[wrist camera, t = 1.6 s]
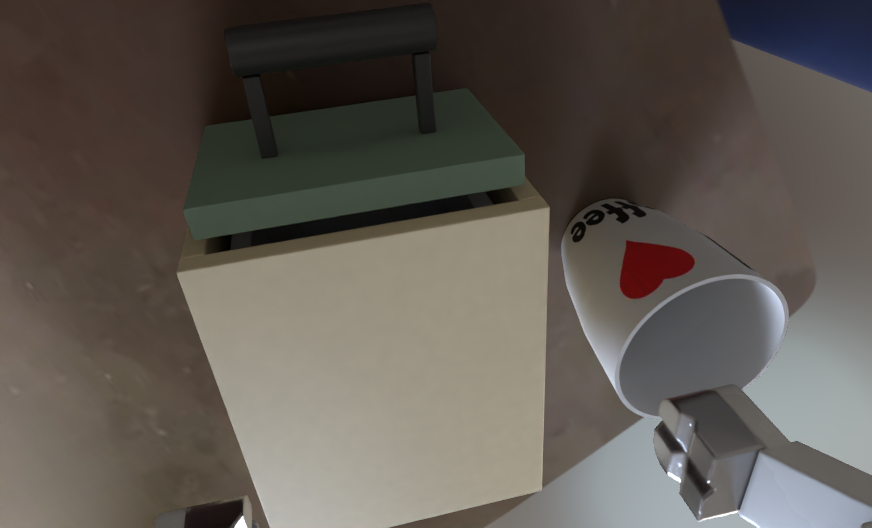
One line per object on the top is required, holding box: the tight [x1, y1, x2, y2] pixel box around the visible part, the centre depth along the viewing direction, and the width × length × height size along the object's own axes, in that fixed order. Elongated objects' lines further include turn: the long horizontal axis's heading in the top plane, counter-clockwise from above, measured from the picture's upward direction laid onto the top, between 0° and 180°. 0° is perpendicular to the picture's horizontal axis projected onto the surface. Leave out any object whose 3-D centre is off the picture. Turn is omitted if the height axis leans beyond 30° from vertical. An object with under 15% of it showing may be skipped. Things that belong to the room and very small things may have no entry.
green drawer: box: [183, 3, 525, 250], centre depth 27 cm, size 19×12×8 cm, turn 4°
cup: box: [561, 199, 789, 420], centre depth 31 cm, size 8×8×10 cm
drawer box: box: [176, 177, 550, 528], centre depth 29 cm, size 16×13×10 cm
